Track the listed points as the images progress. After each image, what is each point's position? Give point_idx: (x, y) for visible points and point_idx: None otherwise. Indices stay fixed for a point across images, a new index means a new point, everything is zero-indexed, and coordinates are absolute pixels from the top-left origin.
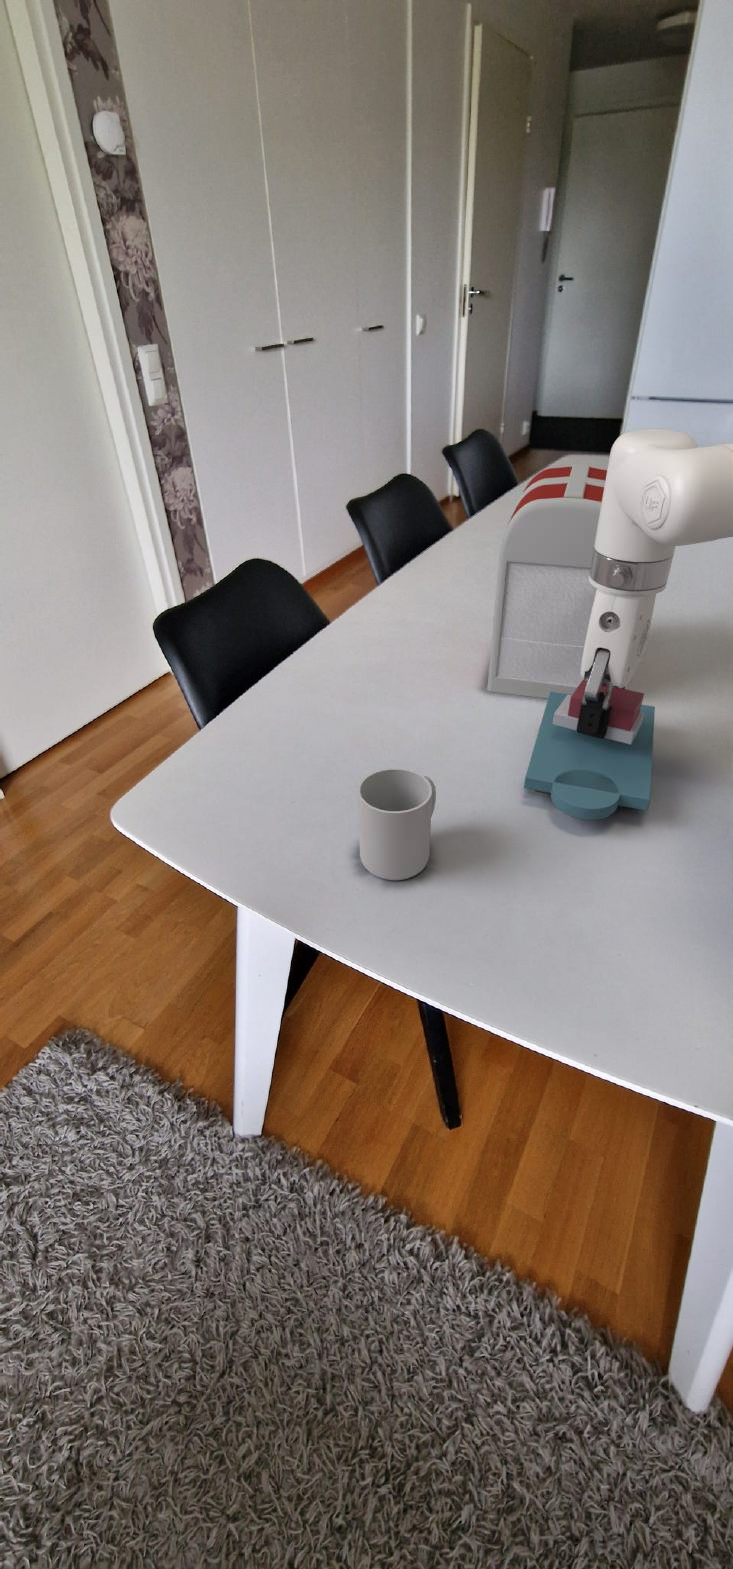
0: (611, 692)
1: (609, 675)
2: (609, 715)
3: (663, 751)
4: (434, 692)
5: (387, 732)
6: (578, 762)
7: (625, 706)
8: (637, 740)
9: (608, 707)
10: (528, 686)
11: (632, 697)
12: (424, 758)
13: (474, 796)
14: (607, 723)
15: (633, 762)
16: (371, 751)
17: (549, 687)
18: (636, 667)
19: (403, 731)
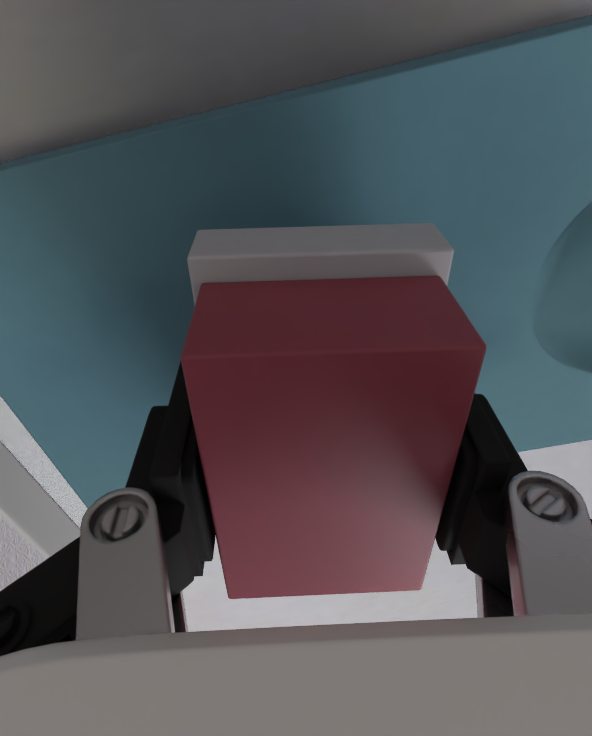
0: (581, 581)
1: (180, 575)
2: (486, 426)
3: (24, 63)
4: (193, 615)
5: (373, 613)
6: (488, 345)
7: (428, 404)
8: (222, 197)
9: (519, 477)
10: (50, 536)
11: (285, 401)
12: (432, 554)
13: (541, 455)
14: (475, 394)
15: (416, 162)
16: (443, 607)
17: (13, 505)
18: (394, 705)
19: (358, 601)
